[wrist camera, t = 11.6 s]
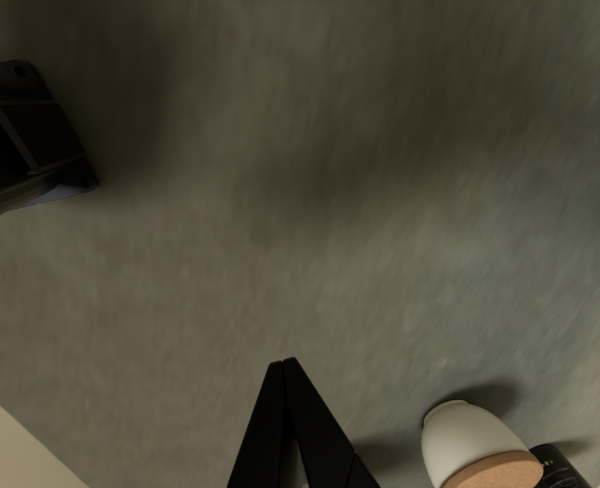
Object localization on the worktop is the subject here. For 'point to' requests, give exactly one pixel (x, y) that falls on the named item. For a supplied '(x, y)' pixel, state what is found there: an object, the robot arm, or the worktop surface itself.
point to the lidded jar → (475, 450)
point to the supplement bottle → (557, 469)
